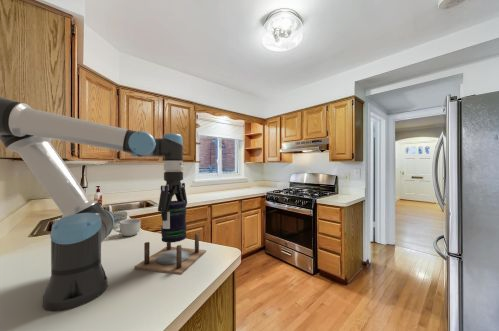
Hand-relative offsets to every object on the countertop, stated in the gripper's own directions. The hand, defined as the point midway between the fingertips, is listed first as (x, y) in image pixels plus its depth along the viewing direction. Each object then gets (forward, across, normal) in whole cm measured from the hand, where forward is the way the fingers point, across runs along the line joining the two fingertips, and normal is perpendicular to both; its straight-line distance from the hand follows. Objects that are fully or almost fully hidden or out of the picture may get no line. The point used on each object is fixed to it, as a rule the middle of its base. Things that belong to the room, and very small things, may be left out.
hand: (174, 224), depth 86 cm
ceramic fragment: (+15, +35, +63) cm, 74 cm away
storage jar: (+6, 0, 0) cm, 6 cm away
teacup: (+15, +23, +45) cm, 53 cm away
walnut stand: (+15, 0, 0) cm, 15 cm away
